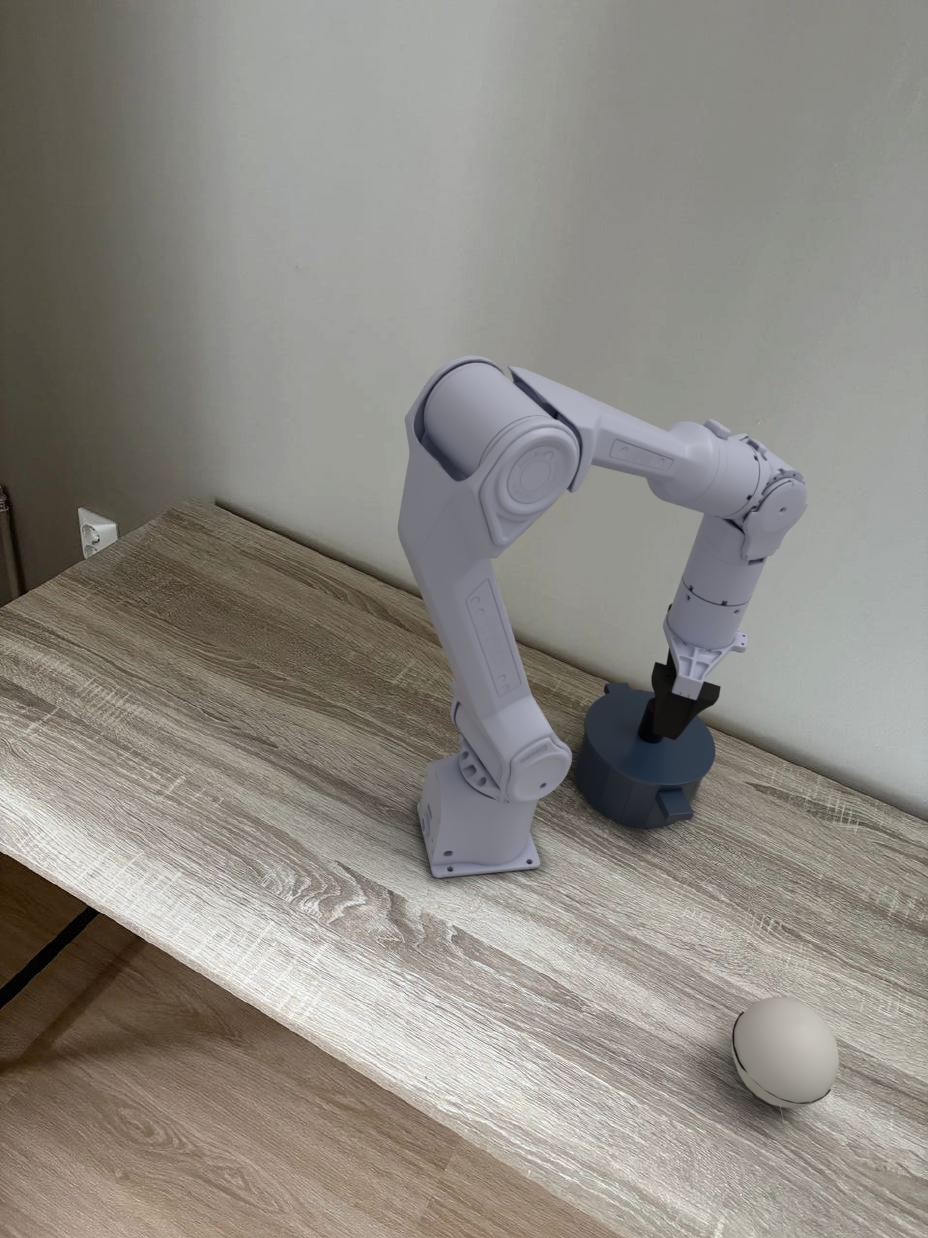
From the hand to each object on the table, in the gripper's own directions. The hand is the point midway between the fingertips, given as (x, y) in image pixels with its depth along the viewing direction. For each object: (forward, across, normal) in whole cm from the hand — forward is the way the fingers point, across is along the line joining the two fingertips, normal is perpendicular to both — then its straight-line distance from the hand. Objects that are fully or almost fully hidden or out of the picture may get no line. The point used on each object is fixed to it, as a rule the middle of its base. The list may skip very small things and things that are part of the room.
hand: (670, 706), depth 88 cm
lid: (+4, 0, +1) cm, 4 cm away
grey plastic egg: (+10, -26, -13) cm, 31 cm away
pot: (+10, 0, +1) cm, 10 cm away
